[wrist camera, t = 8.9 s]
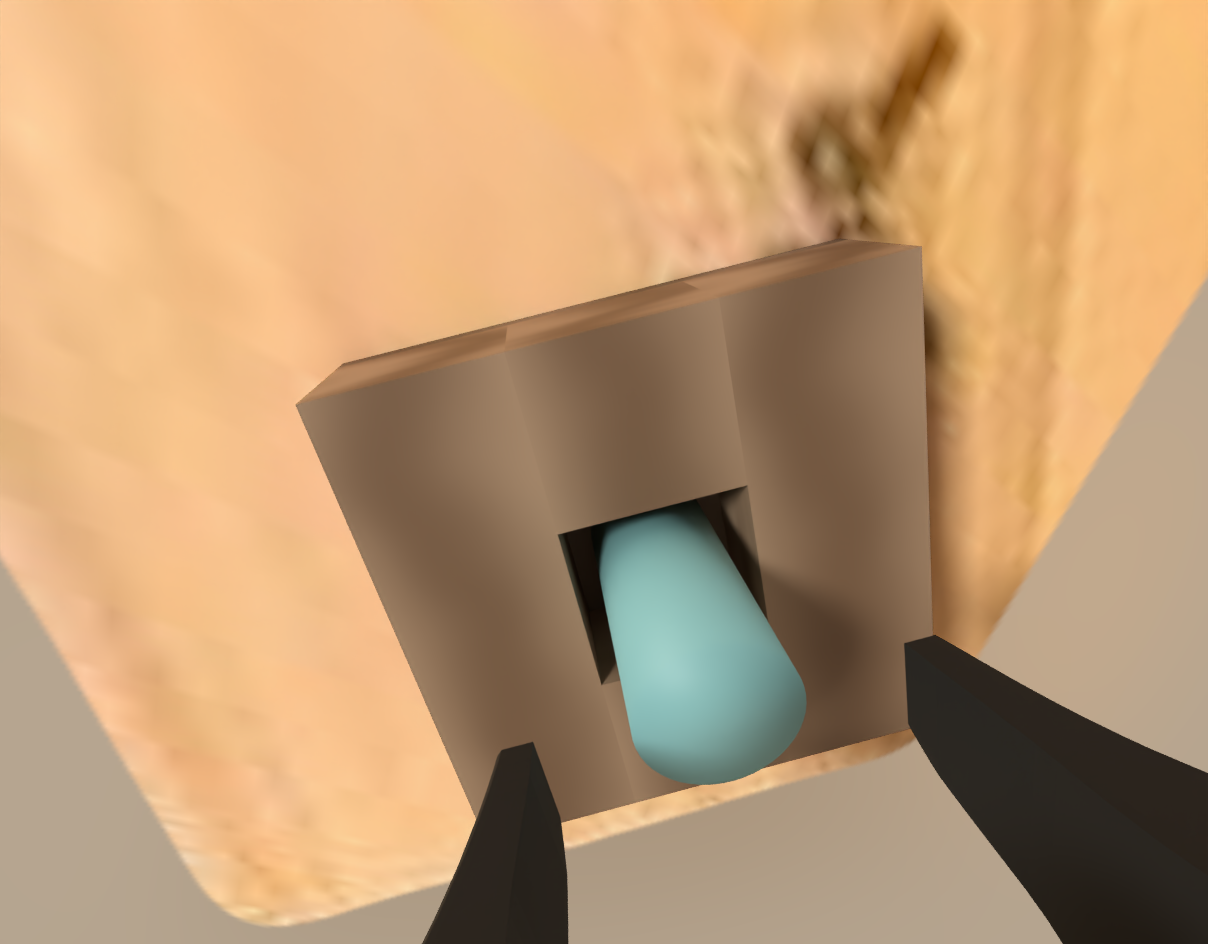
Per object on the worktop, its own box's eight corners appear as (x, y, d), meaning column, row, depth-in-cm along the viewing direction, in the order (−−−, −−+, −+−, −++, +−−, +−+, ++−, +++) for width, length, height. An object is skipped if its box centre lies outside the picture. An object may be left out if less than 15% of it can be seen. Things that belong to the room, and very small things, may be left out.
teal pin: (692, 463, 19) (796, 623, 12) (711, 562, 21) (814, 759, 13) (579, 493, 19) (612, 671, 12) (605, 589, 21) (650, 802, 13)
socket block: (839, 238, 18) (921, 246, 14) (870, 640, 23) (935, 721, 20) (343, 363, 18) (295, 404, 14) (492, 741, 23) (486, 842, 19)
